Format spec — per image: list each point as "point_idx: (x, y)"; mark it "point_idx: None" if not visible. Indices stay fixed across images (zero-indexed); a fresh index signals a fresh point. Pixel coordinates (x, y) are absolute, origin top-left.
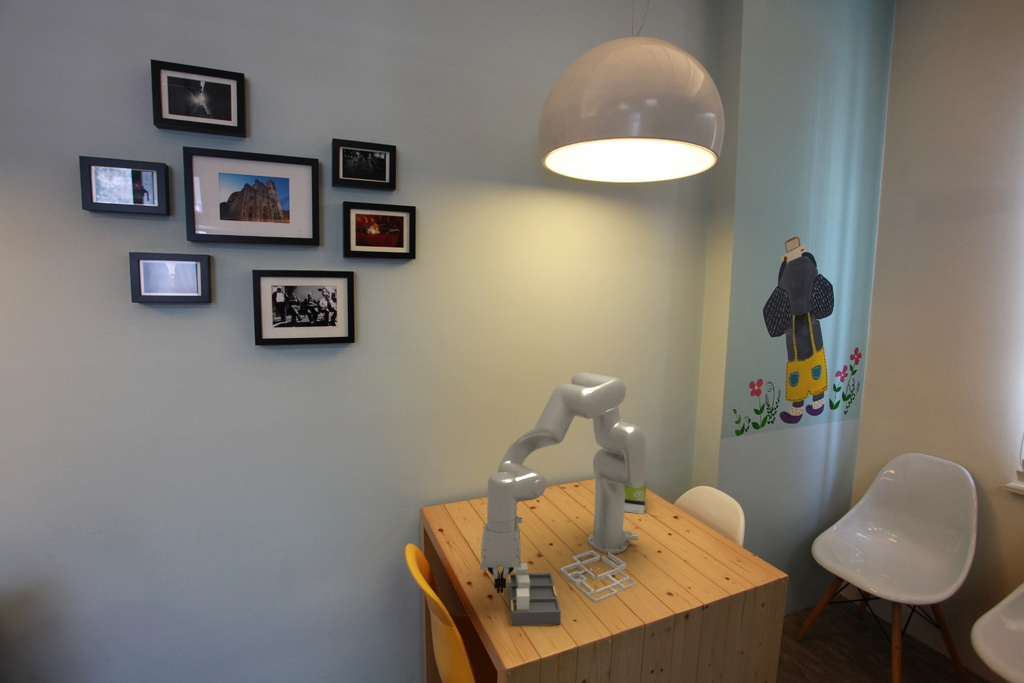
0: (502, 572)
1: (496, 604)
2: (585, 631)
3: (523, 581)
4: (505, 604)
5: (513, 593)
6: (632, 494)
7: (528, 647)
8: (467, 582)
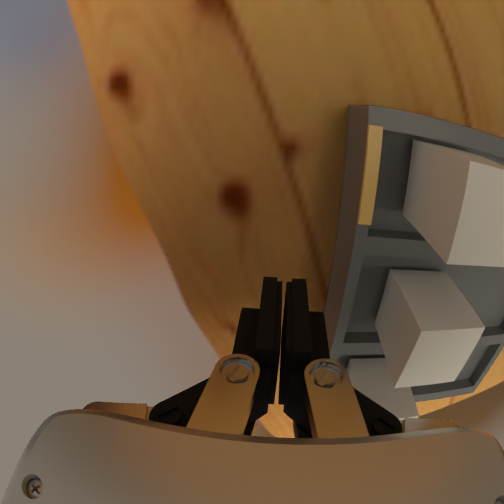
0: (296, 406)
1: (266, 262)
2: (491, 373)
3: (426, 378)
4: (311, 266)
5: (362, 283)
6: None
7: None
8: (111, 82)
